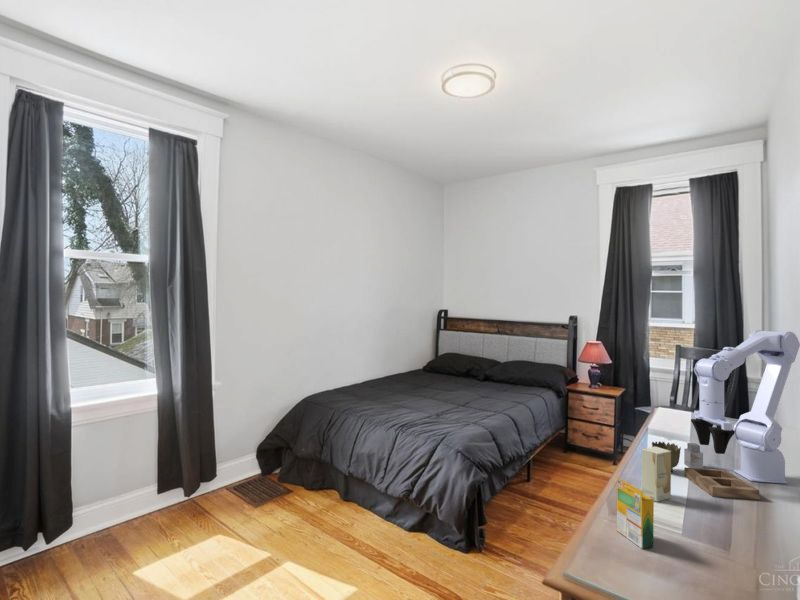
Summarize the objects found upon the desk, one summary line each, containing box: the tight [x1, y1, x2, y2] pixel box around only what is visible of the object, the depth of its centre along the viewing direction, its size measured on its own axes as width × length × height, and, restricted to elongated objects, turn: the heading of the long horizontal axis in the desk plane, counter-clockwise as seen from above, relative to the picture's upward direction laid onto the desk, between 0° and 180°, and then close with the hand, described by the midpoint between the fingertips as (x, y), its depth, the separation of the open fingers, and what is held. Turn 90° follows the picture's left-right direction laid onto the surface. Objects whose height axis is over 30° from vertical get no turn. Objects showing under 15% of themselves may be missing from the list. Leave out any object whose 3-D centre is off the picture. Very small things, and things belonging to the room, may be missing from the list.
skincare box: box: [640, 446, 672, 502], centre depth 109 cm, size 6×4×12 cm
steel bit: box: [683, 442, 704, 469], centre depth 131 cm, size 4×4×7 cm
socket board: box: [683, 466, 760, 501], centre depth 115 cm, size 11×14×2 cm
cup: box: [651, 441, 682, 473], centre depth 127 cm, size 8×7×8 cm
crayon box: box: [616, 477, 655, 550], centre depth 88 cm, size 7×3×12 cm, turn 12°
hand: (711, 448), depth 119 cm, fingers open, 7 cm apart
